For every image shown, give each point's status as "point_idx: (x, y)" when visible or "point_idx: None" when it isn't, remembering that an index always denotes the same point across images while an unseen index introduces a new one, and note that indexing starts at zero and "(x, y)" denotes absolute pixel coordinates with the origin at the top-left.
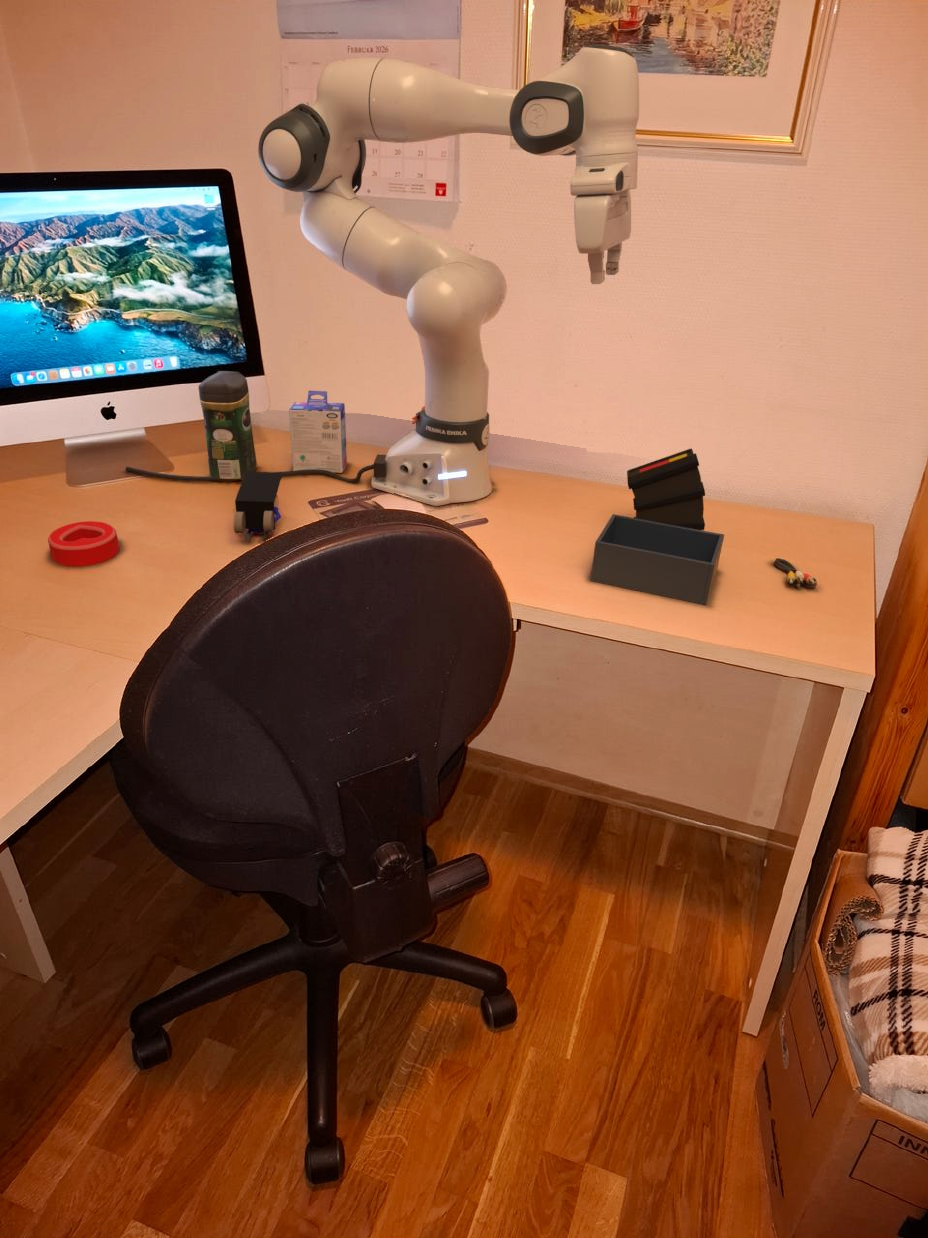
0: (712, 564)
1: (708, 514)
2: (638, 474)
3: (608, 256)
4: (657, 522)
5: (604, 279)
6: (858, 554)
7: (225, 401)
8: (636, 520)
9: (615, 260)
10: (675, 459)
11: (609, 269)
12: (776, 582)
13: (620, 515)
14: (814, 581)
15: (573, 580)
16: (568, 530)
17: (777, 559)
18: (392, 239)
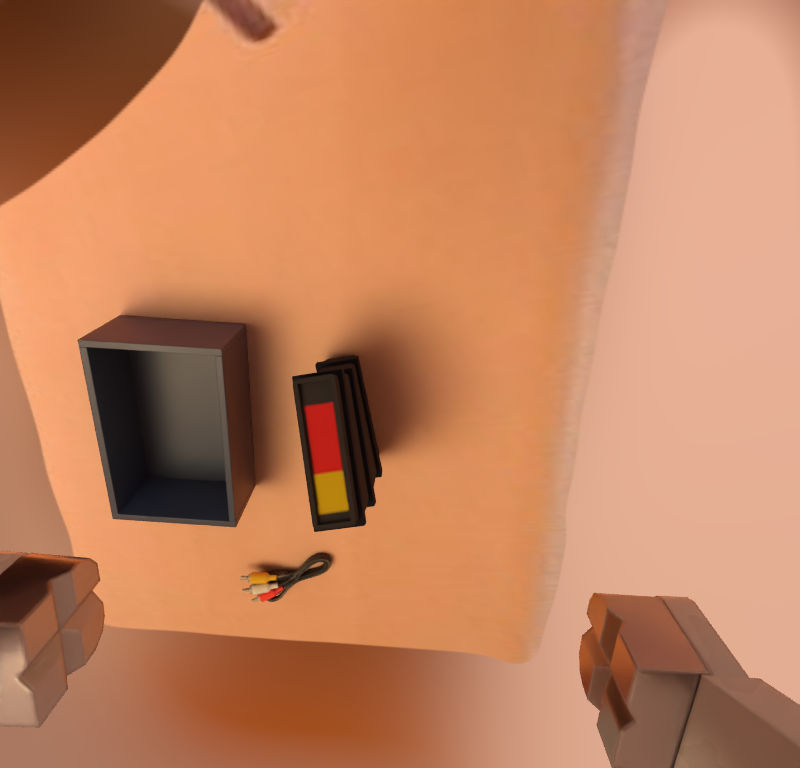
0: (113, 516)
1: (481, 464)
2: (296, 404)
3: (766, 740)
4: (226, 429)
5: (88, 652)
6: (408, 642)
7: None
8: (218, 393)
9: (691, 765)
10: (330, 486)
11: (610, 646)
12: (266, 554)
13: (222, 363)
14: (268, 599)
15: (105, 287)
16: (299, 235)
17: (324, 560)
18: None
